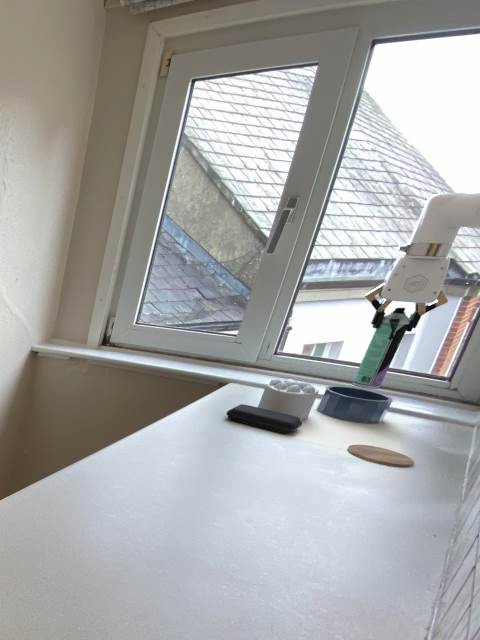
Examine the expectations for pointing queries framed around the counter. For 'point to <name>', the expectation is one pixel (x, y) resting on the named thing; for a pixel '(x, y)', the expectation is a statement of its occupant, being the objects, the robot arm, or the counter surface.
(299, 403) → the white pebble pot
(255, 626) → the counter surface
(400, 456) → the coaster
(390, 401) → the bowl
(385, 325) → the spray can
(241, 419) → the carrying case
